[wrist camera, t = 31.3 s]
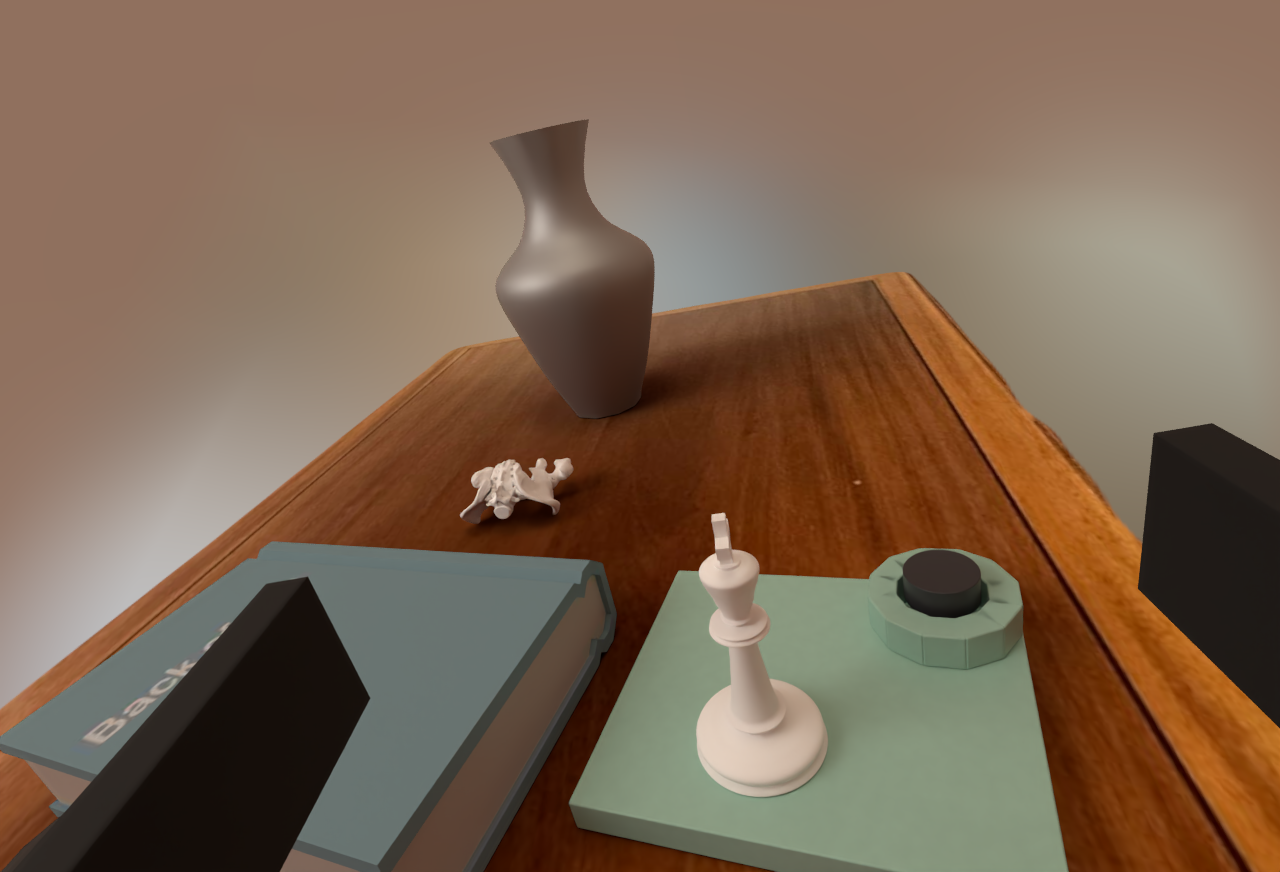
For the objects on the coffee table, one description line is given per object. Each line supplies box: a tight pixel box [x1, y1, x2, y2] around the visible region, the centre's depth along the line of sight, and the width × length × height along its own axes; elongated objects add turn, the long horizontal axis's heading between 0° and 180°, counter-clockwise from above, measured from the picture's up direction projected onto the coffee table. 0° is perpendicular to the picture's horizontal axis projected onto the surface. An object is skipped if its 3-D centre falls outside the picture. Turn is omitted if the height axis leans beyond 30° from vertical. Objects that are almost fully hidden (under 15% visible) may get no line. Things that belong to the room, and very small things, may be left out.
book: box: [0, 542, 617, 872], centre depth 32 cm, size 23×16×5 cm
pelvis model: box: [460, 458, 573, 524], centre depth 49 cm, size 8×4×7 cm
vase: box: [490, 120, 654, 418], centre depth 61 cm, size 14×14×25 cm
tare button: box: [903, 550, 981, 618], centre depth 28 cm, size 3×3×1 cm
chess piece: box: [696, 513, 828, 797], centre depth 23 cm, size 5×5×10 cm
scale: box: [569, 548, 1069, 872], centre depth 28 cm, size 16×14×3 cm
